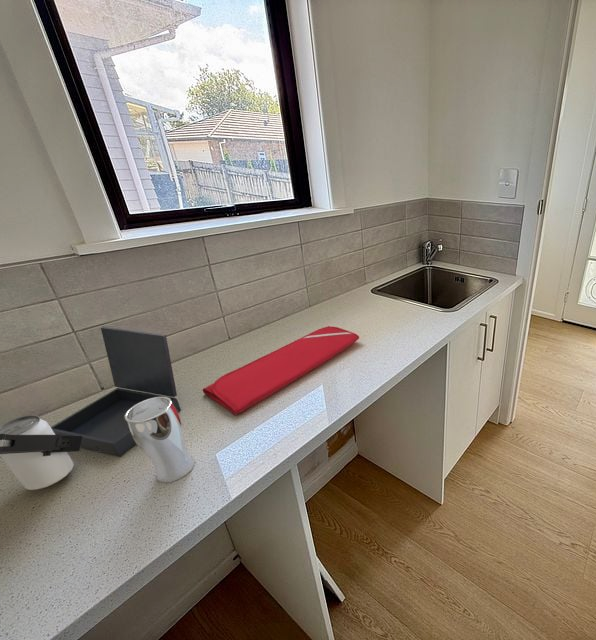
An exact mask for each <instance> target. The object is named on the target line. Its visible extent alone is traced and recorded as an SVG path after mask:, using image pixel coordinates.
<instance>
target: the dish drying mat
mask: <svg viewBox="0 0 596 640" xmlns="http://www.w3.org/2000/svg"><path fill="white" fill-rule="evenodd" d="M359 339H360V335H359V334H357V333H355V332H352V331H350V330H346V329H344V328H342V327H341V328H340V327H338V326H330V325H328V326H325V327H324V326H323V327H321V328H318V329H316V330H314V331H311V332H310V333H308V334H306V335H304V336H303V337H302V336H301V337H300V338H298V339H296V340H293V341H292V342H290V343H288V344H286V345H284V346H282V347H279V348H278V349H275V350H274V351H271V352H270V353H267V354H265V355H263V356H261V357H259V358H257V359H255V360H253V361H251V362H249V363H246V364H245V365H243V366H241V367H239V368H236V369H234V370H231V371H229V372H228V373H225V374H224V375H221V376H220V377H219V378H217V379H216V380H215V381H214V382H213V383H211V384H209V385H208V386H206V387H203V388H202V392H203V394H204V395H205V396H207V397H208V398H210V399H211V400H213V401H214V402H215V403H218V404H219V405H220V406H221V407H223V408H224V409H226V410H227V411H228V412H230V413H231V414H232V415H234V416H237V415H238V414H240V413H242V412H244V411H246V410H247V409H250V407H253V406H254V405H256V404H258V403H259V402H261V401H262V400H265V399H266V398H268V397H269V396H271V395H273V394H274V393H277V392H278V391H279V390H281V389H283V388H284V387H286V386H288V385H290V384H291V383H293V382H295V381H296V380H298V379H300V378H301V377H303V376H305V375H306V374H308V373H309V372H310V371H313V369H315V368H317V367H319V366H320V365H322V364H324V363H325V362H327V361H329V360H330V359H332V358H333V357H336V355H338V354H339V353H341V352H343V351H344V350H346V349H348V347H351V345H353V344H354V343H356V342H357V341H358V340H359Z"/></svg>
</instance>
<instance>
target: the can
mask: <svg viewBox="0 0 596 640" xmlns="http://www.w3.org/2000/svg"><path fill="white" fill-rule="evenodd" d="M51 427H52V426H50V424H49V423H48V422H47V421H46V420H45V419H43V418H41V417H40V416H39V415H36V414H30V415H24V416H20V417H17V418H14V419H11V420H8V421H7V422H4V423H3V424H1V425H0V434H6V435H55V433H54V432H53V430H52V429H51ZM0 459H1V460H2V461H3V462H4V464H5V465H6V467H7V468H8V470H10V471H11V473H12V474H13V476H15V478H16V479H17V480H18V482H19V483H20V484H21V485H22V487H23V488H24V489H25V490H28V491H38V490H42V489H46V488H48V487H50V486H52V485H55V484H57V483H59V482H60V481H62V480H64V479H65V478H66V477H67V476H68V475H69V474H70V473H71V472H72V470H73V468H74V465H75V463H74V461H73V460H72V458H71V456H70V455H69V453H68V452H51V456H43V453H41V452H29V453H12V454H0Z"/></svg>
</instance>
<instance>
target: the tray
mask: <svg viewBox="0 0 596 640" xmlns="http://www.w3.org/2000/svg"><path fill="white" fill-rule="evenodd" d="M154 397H168V398H170V399H171V401H172V403H173V405H174V407H175V408H176V410H177V412H178V413H179V412H181V411H182V408H181V406H180V404H179V401H178V399H177V397H170V396H165V395H159V394H153V393H147V392H142V391H136V390H130V389H124V388H119V387H115V388H114V389H112V390H111V391H110V392H108V393H106V394H104V395H103V396H101V397H99V398H98V399H96V400H94V401H92V402H91V403H89V404H88V405H85V406H84V407H82V408H80V409H79V410H77V411H75V412H74V413H72V414H71V415H69V416H67V417H66V418H63V419H62V420H61V421H59V422H57V423H55V424H54V425H52V426H50V427H51V429H52V430H53V432H54V433H55V435H57V434H63V436H82V440H81V445H80V449H82V450H83V449H84V450H87V451H92V452H96V453H100V454H105V455H110V456H115V457H118V458H121V457H122V456H124V455H125V454H127V453H128V452H129V451H130V450H131V449H133V448H134V447H135V446H137V444H136V443H135V441H134V439H133V438H132V435H131V433H130V431H129V428H128V425H127V422H126V420H125V414H126V412H127V411H128V410H129V409H130V408H131V407H133V406H134V405H136V404H138V403H140V402H142V401H144V400H147V399H150V398H154Z"/></svg>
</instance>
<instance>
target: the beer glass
mask: <svg viewBox="0 0 596 640" xmlns="http://www.w3.org/2000/svg"><path fill="white" fill-rule="evenodd" d="M168 397H169V396H167V397H154V398H150V399H147V400H144V401H142V402H140V403H138V404H136V405H134V406H133V407H131V408H130V409H129V410H128V411H127V412H126V414H125V420H126V422H127V425H128V428H129V431H130V433H131V435H132V438H133V439H134V441H135V443H136V444H137V445H136V446H137V447H138V448H139V449H140V451H141V452H142V453H143V454H144V455H145V456H146V457H147V458H148V459H149V460H150V461H151V463H152V464H153V466H154V470H155V476H156V479H157V481H159V482H161V483H172V482H175V481H178V480H181V479H182V478H184V477H185V476H187V475H188V474H189V473H190V472H191V471H192V469H193V468H194V467H195V464H196V459H195V458H194V457H193V455H192V454H191V453H190V451H189V450H188V448H187V445H186V438H185V437H186V436H185V430H184V426H183V422H182V419H181V416H180V414H179V412H177V410H176V408H175V407H174V405H173V403H172V401H171V399H170V398H168Z"/></svg>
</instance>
